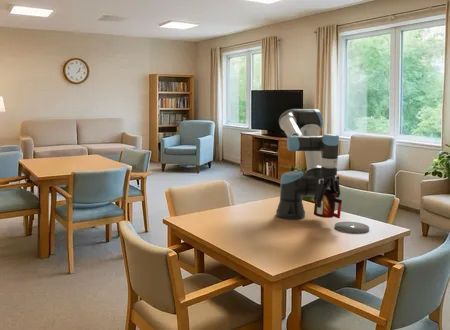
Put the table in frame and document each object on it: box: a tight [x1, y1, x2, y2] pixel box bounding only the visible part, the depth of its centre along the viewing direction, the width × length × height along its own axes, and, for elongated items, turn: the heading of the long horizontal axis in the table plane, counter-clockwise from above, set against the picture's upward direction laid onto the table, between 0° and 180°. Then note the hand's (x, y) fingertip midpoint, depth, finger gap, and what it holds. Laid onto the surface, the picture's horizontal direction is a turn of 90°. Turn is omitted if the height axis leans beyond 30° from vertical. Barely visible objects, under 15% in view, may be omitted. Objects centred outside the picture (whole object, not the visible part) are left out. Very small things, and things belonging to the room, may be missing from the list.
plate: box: [334, 221, 370, 235], centre depth 217 cm, size 16×16×1 cm
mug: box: [313, 189, 343, 219], centre depth 218 cm, size 10×14×12 cm
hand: (326, 211), depth 219 cm, fingers closed on mug, 10 cm apart
